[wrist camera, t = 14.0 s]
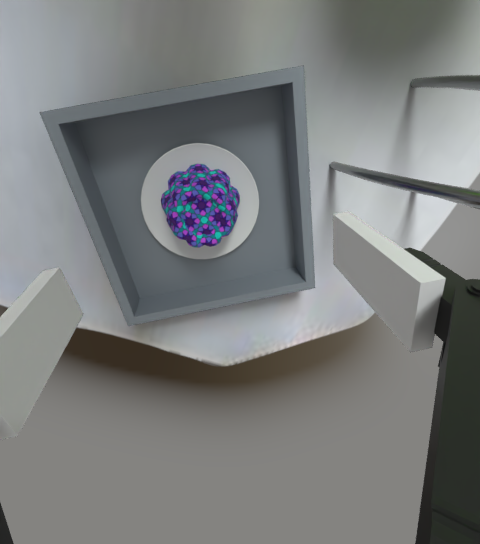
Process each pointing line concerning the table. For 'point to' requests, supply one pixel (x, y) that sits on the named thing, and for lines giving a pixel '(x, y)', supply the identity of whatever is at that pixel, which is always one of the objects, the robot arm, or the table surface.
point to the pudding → (200, 201)
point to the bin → (174, 133)
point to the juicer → (443, 191)
